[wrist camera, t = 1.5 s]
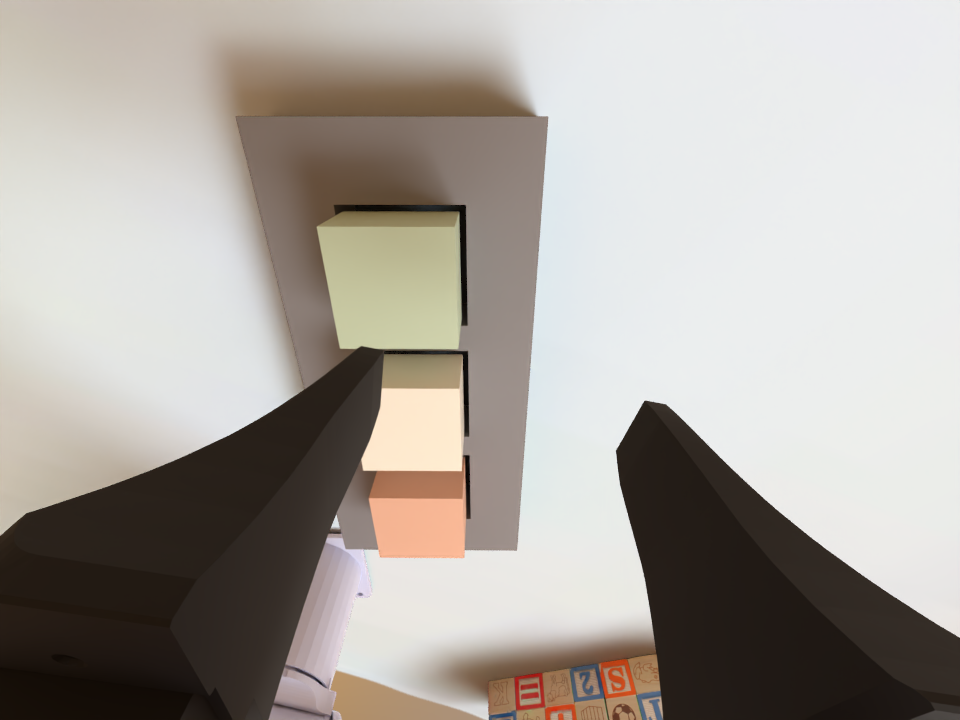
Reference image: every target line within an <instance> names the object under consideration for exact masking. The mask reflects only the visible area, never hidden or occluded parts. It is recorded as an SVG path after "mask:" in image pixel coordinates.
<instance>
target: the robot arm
mask: <svg viewBox="0 0 960 720" xmlns="http://www.w3.org/2000/svg"><path fill="white" fill-rule="evenodd" d="M383 362H384V350H380V349H375V348H370V347H364V346H361V347H359V348H357V349H356V350H355V351H354V352H352V353H351V354H350V355H349V356H347V357H346V358H345V359H344V360H342V361H341V362H340V363H339V364H338V365H336V366H335V367H334V368H332V369H331V370H330V371H329V372H327V373H326V374H325V375H323V376H322V377H321V378H319V379H318V380H317V381H315V382H314V383H313V384H311V385H310V386H309V387H307V388H306V389H304V390H303V391H302V392H300V393H299V394H297V395H296V396H294V397H293V398H291V399H290V400H288V401H287V402H285V403H284V404H282V405H281V406H279V407H278V408H276V409H274V410H273V411H271V412H270V413H268V414H266V415H265V416H263V417H261V418H260V419H258V420H256V421H254V422H253V423H251V424H249V425H247V426H246V427H244V428H242V429H240V430H238V431H236V432H235V433H233V434H231V435H229V436H227V437H225V438H222V439H220V440H218V441H216V442H214V443H212V444H210V445H208V446H205V447H203V448H201V449H199V450H197V451H195V452H193V453H191V454H188V455H186V456H184V457H182V458H180V459H177V460H175V461H172V462H170V463H168V464H165V465H163V466H160V467H158V468H156V469H153V470H150V471H148V472H145V473H143V474H140V475H138V476H135V477H132V478H130V479H127V480H125V481H122V482H119V483H116V484H114V485H111V486H108V487H105V488H102V489H99V490H96V491H93V492H90V493H87V494H84V495H81V496H78V497H75V498H72V499H69V500H66V501H63V502H60V503H58V504H55V505H52V506H49V507H46V508H42V509H39V510H36V511H33V512H29V513H26V514H25V515H24V516H23V517H22V518H20V519H19V520H18V521H17V522H16V523H14V524H13V525H12V526H11V527H10V528H9V529H8V530H6V531H5V532H4V533H3V534H2V535H1V536H0V720H342V718H341V715H340V713H339V712H338V711H334V710H332V709H333V705H334V701H335V697H336V692H335V691H331V690H330V688H331V685H332V681H333V677H334V674H335V670H336V667H337V663H338V659H339V656H340V652H341V648H342V645H343V641H344V637H345V634H346V630H347V626H348V623H349V619H350V615H351V612H352V608H353V604H354V601H355V597H370V596H371V595H372V586H371V582H370V577H369V573H368V568H367V564H366V559H365V554H364V550H363V549H345V545H344V541H343V537H342V534H329V531H330V528H331V526H332V523H333V521H334V518H335V516H336V513H337V511H338V509H339V507H340V505H341V502H342V500H343V498H344V496H345V494H346V491H347V489H348V487H349V485H350V483H351V481H352V478H353V476H354V474H355V472H356V470H357V468H358V465H359V463H360V461H361V459H362V457H363V454H364V452H365V450H366V448H367V446H368V443H369V441H370V438H371V435H372V432H373V429H374V426H375V423H376V420H377V417H378V413H379V410H380V405H381V391H382V376H383ZM616 454H617V464H618V472H619V480H620V486H621V490H622V494H623V498H624V501H625V505H626V509H627V513H628V516H629V520H630V524H631V527H632V531H633V535H634V538H635V542H636V546H637V549H638V553H639V557H640V560H641V564H642V568H643V573H644V577H645V582H646V588H647V594H648V600H649V606H650V612H651V618H652V625H653V633H654V640H655V647H656V655H657V662H658V672H659V682H660V691H661V701H662V711H663V720H960V638H959V637H957V636H956V635H954V634H952V633H951V632H949V631H947V630H946V629H944V628H942V627H940V626H939V625H937V624H936V623H934V622H932V621H931V620H929V619H928V618H926V617H924V616H923V615H921V614H920V613H918V612H917V611H915V610H914V609H912V608H910V607H909V606H907V605H906V604H904V603H903V602H901V601H900V600H898V599H897V598H895V597H893V596H892V595H890V594H889V593H887V592H886V591H884V590H883V589H881V588H880V587H879V586H877V585H876V584H874V583H873V582H871V581H870V580H868V579H867V578H865V577H864V576H862V575H861V574H860V573H858V572H857V571H855V570H854V569H853V568H851V567H850V566H848V565H847V564H846V563H844V562H843V561H842V560H840V559H839V558H837V557H836V556H835V555H833V554H832V553H831V552H829V551H828V550H826V549H825V548H824V547H822V546H821V545H820V544H819V543H817V542H816V541H815V540H813V539H812V538H811V537H809V536H808V535H807V534H806V533H804V532H803V531H802V530H801V529H799V528H798V527H797V526H796V525H795V524H793V523H792V522H791V521H790V520H788V519H787V518H786V517H785V516H783V515H782V514H781V513H780V512H779V511H777V510H776V509H775V508H774V507H773V506H772V505H770V504H769V503H768V502H767V501H766V500H765V499H764V498H763V497H761V496H760V495H759V494H758V493H757V492H756V491H755V490H754V489H753V488H752V487H751V486H749V485H748V484H747V483H746V482H745V481H744V480H743V479H742V478H741V477H740V476H739V475H738V474H737V473H736V472H734V471H733V470H732V469H731V468H730V467H729V466H728V465H727V464H726V463H725V462H724V461H723V460H722V459H721V458H720V457H719V456H718V455H717V454H716V453H715V452H714V451H713V450H712V449H711V448H710V447H709V446H708V445H707V444H706V443H705V442H704V441H703V440H702V439H701V438H700V437H699V436H698V435H697V434H696V433H695V432H694V431H693V430H692V429H691V428H690V427H689V426H688V425H687V424H686V423H685V422H684V421H683V420H682V419H681V418H680V417H679V416H678V415H677V414H676V413H675V412H674V411H673V410H672V409H670V408H669V407H668V406H667V405H665V404H660V403H655V402H650V401H644V403H643V404H642V406H641V408H640V410H639V411H638V413H637V415H636V417H635V419H634V420H633V422H632V424H631V426H630V427H629V429H628V431H627V433H626V434H625V436H624V438H623V440H622V441H621V443H620V445H619V447H618V448H617V450H616Z"/></svg>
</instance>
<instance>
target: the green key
mask: <svg viewBox="0 0 960 720" xmlns="http://www.w3.org/2000/svg"><path fill="white" fill-rule="evenodd" d="M317 231H318V237H319V242H320V247H321V252H322V257H323V263H324V268H325V273H326V278H327V284H328V289H329V294H330V299H331V304H332V310H333V315H334V320H335V325H336V331H337V336H338V341H339V346H340V349H357V348H359V347H361V346H364V347H370V348H375V349H458V347H459V338H460V329H461V321H462V309H461V265H460V222H459V212H450V211H343V212H341V213H339V214H338V215H336V216H334V217H332V218H331V219H329V220H327V221H325V222H324V223H322V224H320V225H319V226H317Z"/></svg>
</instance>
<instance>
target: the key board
mask: <svg viewBox="0 0 960 720" xmlns="http://www.w3.org/2000/svg"><path fill="white" fill-rule="evenodd" d="M236 120H237V124H238V128H239V132H240V136H241V140H242V144H243V148H244V151H245V155H246V159H247V163H248V167H249V171H250V175H251V179H252V183H253V187H254V191H255V195H256V199H257V203H258V207H259V211H260V214H261V218H262V222H263V226H264V230H265V234H266V238H267V242H268V246H269V250H270V254H271V258H272V262H273V266H274V270H275V274H276V277H277V281H278V285H279V289H280V293H281V297H282V301H283V305H284V309H285V313H286V317H287V321H288V325H289V329H290V333H291V337H292V341H293V344H294V348H295V352H296V356H297V360H298V364H299V368H300V372H301V376H302V380H303V384H304V388H305V389H306V388H307V387H309V386H310V385H311V384H313V383H314V382H315V381H317V380H318V379H319V378H321V377H322V376H323V375H325V374H326V373H327V372H329V371H330V370H331V369H332V368H334V367H335V366H336V365H338V364H339V363H340V362H341V361H342V360H344V359H345V358H346V357H347V356H349V355H350V354H351V353H352V352H354V351H355V350H356V349H340V346H339V341H338V336H337V331H336V325H335V320H334V315H333V310H332V304H331V299H330V294H329V289H328V284H327V278H326V273H325V268H324V263H323V257H322V252H321V247H320V242H319V237H318V231H317V226H319V225H320V224H322V223H324V222H325V221H327V220H329V219H331V218H332V217H334V216H336V215H338V214H339V213H341V212H343V211H355V205H466V240H467V303H461V309H462V321H461V329H460V338H459V347H458V349H380V350H384V351H468V373H469V406H464V443H463V455H470V485H466V530H465V550H517V543H518V529H519V515H520V501H521V488H522V474H523V460H524V446H525V432H526V418H527V404H528V391H529V377H530V363H531V349H532V335H533V321H534V307H535V293H536V280H537V266H538V252H539V238H540V224H541V210H542V196H543V183H544V169H545V155H546V141H547V127H548V117H533V116H236ZM376 473H377V471H363V466H362V461H360V463H359V465H358V468H357V470H356V472H355V474H354V476H353V478H352V481H351V483H350V485H349V487H348V489H347V491H346V494H345V496H344V498H343V500H342V502H341V505H340V507H339V509H338V511H337V513H336V514H337V518H338V522H339V526H340V530H341V533H342V537H343V541H344V545H345V549H373V550H378V545H377V539H376V534H375V529H374V524H373V519H372V513H371V508H370V503H369V495H370V492H371V489H372V486H373V483H374V479H375V476H376Z"/></svg>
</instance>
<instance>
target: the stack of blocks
mask: <svg viewBox="0 0 960 720" xmlns="http://www.w3.org/2000/svg"><path fill="white" fill-rule="evenodd" d="M488 695H489V700H488V703H489V707H488V711H489V720H663V711H662V701H661V691H660V682H659V672H658V662H657V655H656V654H653V655H647V656H640V657H634V658H629V659H622V660H615V661H609V662H602V663H599V664H592V665H586V666H580V667H574V668H570V669H563V670H557V671H551V672H545V673H537V674H531V675H525V676H519V677H512V678H506V679H500V680H494V681H489V683H488Z"/></svg>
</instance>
